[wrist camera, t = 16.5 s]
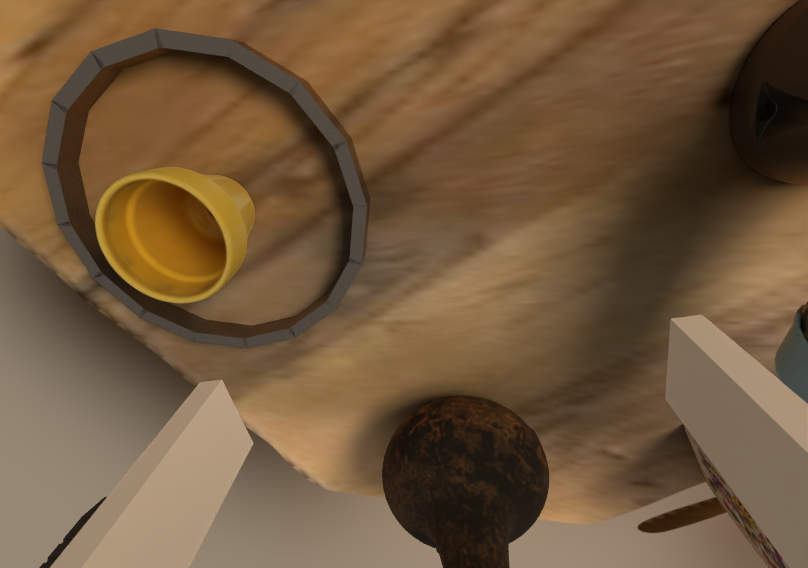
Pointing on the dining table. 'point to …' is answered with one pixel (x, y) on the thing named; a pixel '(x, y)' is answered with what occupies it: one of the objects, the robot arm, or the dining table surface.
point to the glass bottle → (466, 479)
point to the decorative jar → (737, 509)
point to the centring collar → (80, 228)
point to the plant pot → (175, 231)
